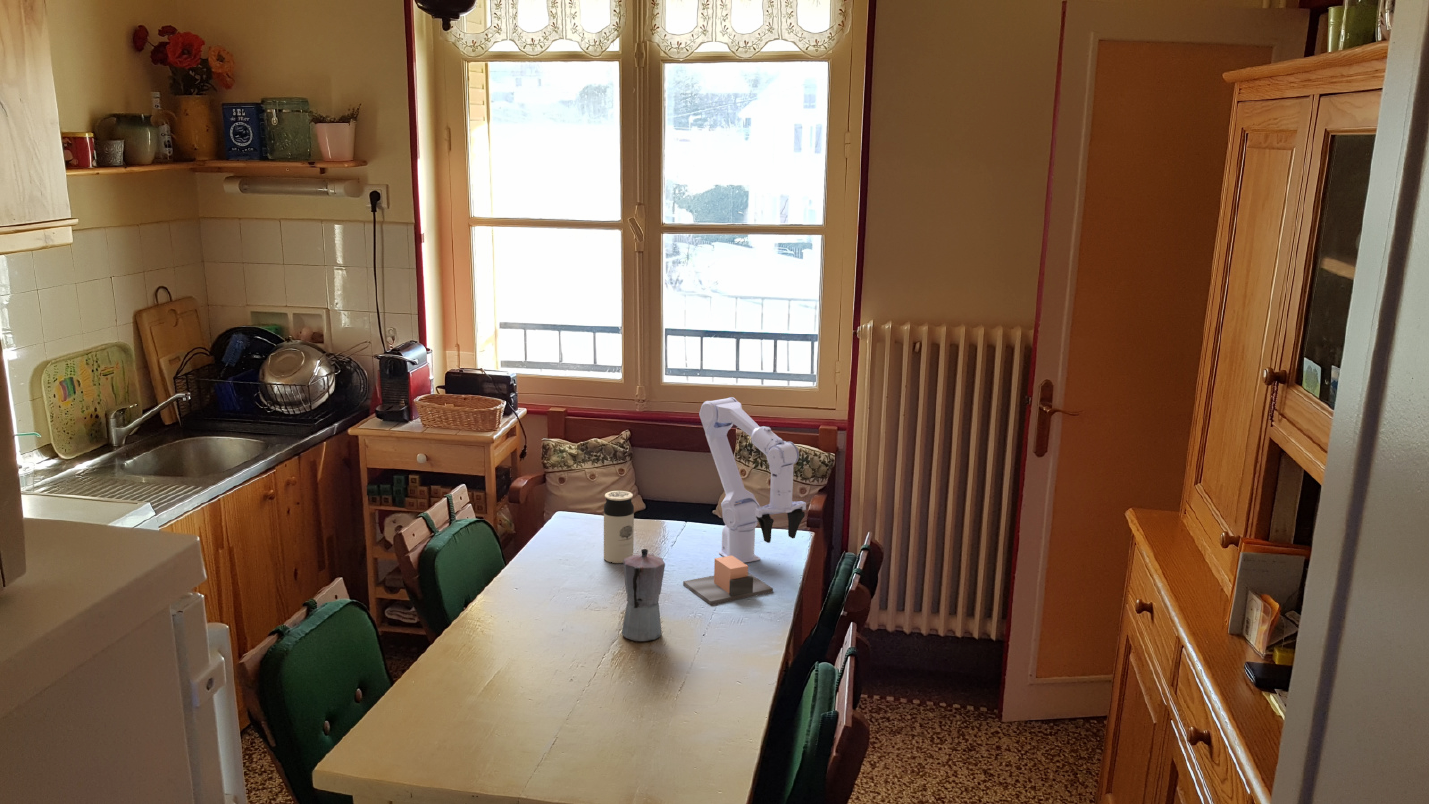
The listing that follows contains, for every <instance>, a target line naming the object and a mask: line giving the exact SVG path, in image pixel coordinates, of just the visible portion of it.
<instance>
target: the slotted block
mask: <svg viewBox="0 0 1429 804" xmlns="http://www.w3.org/2000/svg"><path fill="white" fill-rule="evenodd" d="M713 569H714V570H713V571H714V572H713V573H714V574H713V576H714V583H715V584H716V585H718V586H719V587H721V588H722V589H723V590H725V591H726V592H728V593H729V588H730V580H731V579H736V578H742V577H747V576H748V573H749V566H748V565H747V564H746V563H743V562H741V561H740V560H738V559H737V558H735V557H734V556H732V555H731V556H726V557H724V556H722V557H716V558H714V568H713Z"/></svg>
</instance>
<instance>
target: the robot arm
mask: <svg viewBox="0 0 1429 804" xmlns="http://www.w3.org/2000/svg"><path fill="white" fill-rule="evenodd" d="M698 415H699V416H698V417H699V418H700V421H701V424H702V428H703V430H704V433H705V437H706V441H707V444H708V446H709V450H710V453H711V455H712V459H713V461H714V464H715V467H716V469H717V470H716V471H717V472H718V476H719V479H720V482H721V484H722V488H723V490H724V493H725V496H724V499H723V500H722V502H721V503H720V507H721V511H722V513H721V514H722V520H723V523H724V526H723V527H722V532H721V550H720V551H718V554H719V555H721V556H722V557H726V556H731V555H732V556H734V557H735V558H737V559H738V560H740V561H741V562H743V563H744V564H746V563H751V562H756V561H760V560H761V557H760V556H758V555H757V554H755V546H756V545H755V542H756V541H755V540H756V539H755V538H756V527H757V526H758V523H759V526H760V528H761V533H762V536H763V537H762V538H763V541H764V542H765V543H766V544H767V543H768V544H770V543H771V541H772V529H773V525H774V522H775V520H774V519H773V518H772V516H771V515H776V514H783V513H786V514H787V522H788V525H787V526H788V527H787V528H788V529H787V530H788V531H787V533H788V537H790V538H791V539H795V538H796V535H797V533H798V530H799V528H800V527H799V526H800V524H801V522H802V520H803V519H804V517H805V516H806V515H805V512H804V511H806V510H807V502H805V501H802V500H800V501H793V487H794V465H795V464H796V463H797V462H799V461H798V460H799V458H800V453H799V452H800V451H799V449H798V447H797V445H796V444H795V443H794V442H792V441H786V440H783V439H782V438H781V437H780V436H778V435H777V434H776V433H775V432H773V431H772V429H771V427H770V426H764V425H763V426H760V425H758V423H757V422H756V421H754V419H753V418H752V417H751V416H750V415H749V414H748V413H746V411H745V410H744V409H743V405H742V403H741V402H739V400H737V399H736V398H735V397H733V396H731V397H727V398H722V399H721V398H720V399H715V400H706V401H704V402H703V403H702V404H701V406H700V410H699V414H698ZM733 426H736V427H737V428H739V429H740V430H741V431H742V432H744V433H746V435H748V436H749V437H750V438H751V439H750V440H751V444H752V445H753V446H755V447H756V448H757V449H758V450H759V451H760V452H762V453H763V454H764V455H765V456H766V460H767V462H768V466H769V468H768V469H769V472H770V486H769V487H770V488H769V489H770V491H769V493H770V494H769V503H768V504H766V505H763V506H761V505H760V503H759V502H758V500H757V499H756V497H755V494H754V493H752V492H750V491H749V490H747V489H746V488H745V485H744V482H743V479H742V475H741V474H740V471H739V468H738V465H737V462H736V459H735V456H734V454H733V450H732V447H731V445H730V442H729V439H728V436H727V435H728V432H729V430H731V428H732V427H733Z"/></svg>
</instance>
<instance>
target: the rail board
mask: <svg viewBox="0 0 1429 804" xmlns="http://www.w3.org/2000/svg"><path fill="white" fill-rule="evenodd" d="M682 583H683V584H682V585H683V587H685V588H686V589H688V590H689V591H691V592H692V593H693V594H695V595H696V596H697V597H698V598H700V599H701V600H702V601H704V602H705V603H707V605H709V606H711V605H718V604H722V603H726V602H731V601H736V600H742V599H747V598H751V597H756V595H757V596H760V595H765V594H771V593H774V587H771V586H770V585H769V584H768V583H765V582H764V581H763V580H761V579H760V578H758V577H756V576H755V575H753V574H752V573H750V572H748V576H747V577H742V578H736V579H731V580H730V588H729V593H728V592H726V591H725V590H723V589H722V588H721V587H719V586H718V585H716V584H715V583H714V575H710V576H705V577H699V578H693V579H689V580H683V582H682Z"/></svg>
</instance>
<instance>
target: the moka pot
mask: <svg viewBox="0 0 1429 804" xmlns="http://www.w3.org/2000/svg"><path fill="white" fill-rule="evenodd" d="M640 552H641V554H633V555H632V556H630V557H627V558H625V559H624V560H623V563H622V564H623V575H624V583H625V584H624V585H625V586H624V587H625V592H626V601H627V603H626V607H625V611H624V612H625V613H624V617H623V624H622V629H621V634H622V636H623V637H624V638H626V639H628V640H631V641H635V642H648V641H649V642H650V641H654V640H657V639H659V638H660V637H661V635H662V622H661V621H662V620H661V613H660V604H659V600H660V595H661V593H662V587H663V580H664V575H665V568H666V563H665V561H664V559H663V557H660V556H655V555H654V553H648V552H649V550H648V549H646V548H642V549H641V550H640Z"/></svg>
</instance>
